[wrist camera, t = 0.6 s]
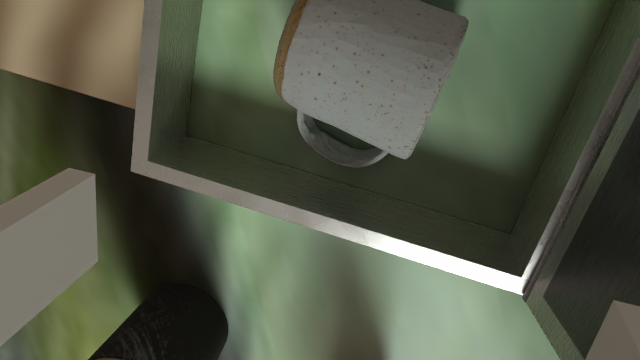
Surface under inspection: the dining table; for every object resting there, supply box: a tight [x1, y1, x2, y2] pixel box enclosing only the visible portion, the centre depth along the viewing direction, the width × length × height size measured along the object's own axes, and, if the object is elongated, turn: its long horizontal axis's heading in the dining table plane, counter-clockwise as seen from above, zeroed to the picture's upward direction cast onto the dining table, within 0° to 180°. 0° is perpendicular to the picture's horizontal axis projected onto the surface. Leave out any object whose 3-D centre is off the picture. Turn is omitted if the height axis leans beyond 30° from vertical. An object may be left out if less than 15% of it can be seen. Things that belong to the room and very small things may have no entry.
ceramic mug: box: [274, 0, 468, 168], centre depth 27 cm, size 11×8×8 cm
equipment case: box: [131, 0, 640, 360], centre depth 18 cm, size 30×18×26 cm, turn 77°
